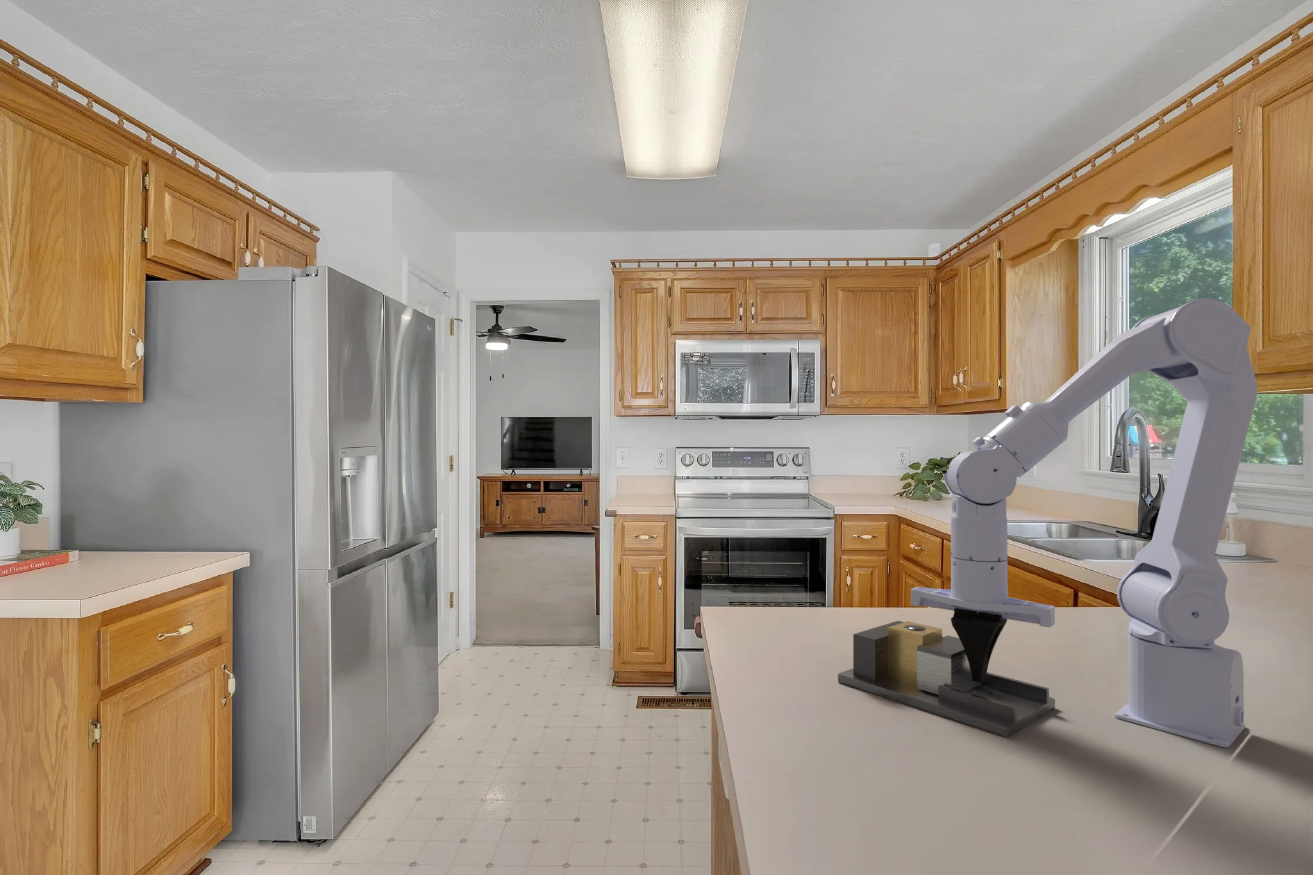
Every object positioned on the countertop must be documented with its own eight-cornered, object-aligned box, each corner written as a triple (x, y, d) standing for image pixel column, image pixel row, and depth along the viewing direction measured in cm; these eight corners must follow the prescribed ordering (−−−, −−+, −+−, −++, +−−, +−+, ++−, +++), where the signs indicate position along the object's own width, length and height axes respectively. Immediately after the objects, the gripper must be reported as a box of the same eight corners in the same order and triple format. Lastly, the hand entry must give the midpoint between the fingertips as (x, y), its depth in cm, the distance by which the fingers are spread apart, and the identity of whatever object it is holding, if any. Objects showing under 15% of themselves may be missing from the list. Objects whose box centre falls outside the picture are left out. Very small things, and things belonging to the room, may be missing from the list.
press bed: (1054, 707, 74) (1054, 653, 74) (1007, 737, 67) (1006, 676, 67) (891, 661, 90) (891, 617, 90) (838, 681, 82) (838, 632, 82)
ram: (980, 684, 78) (980, 642, 78) (951, 698, 74) (951, 654, 74) (947, 675, 81) (947, 635, 81) (917, 688, 77) (917, 646, 77)
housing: (942, 678, 80) (942, 628, 80) (922, 687, 78) (922, 635, 78) (907, 669, 84) (907, 620, 84) (887, 676, 81) (887, 626, 81)
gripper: (1060, 560, 73) (1061, 685, 73) (925, 547, 83) (925, 657, 83) (1046, 569, 68) (1046, 704, 68) (903, 553, 77) (904, 671, 77)
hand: (979, 679), depth 75 cm, fingers closed
